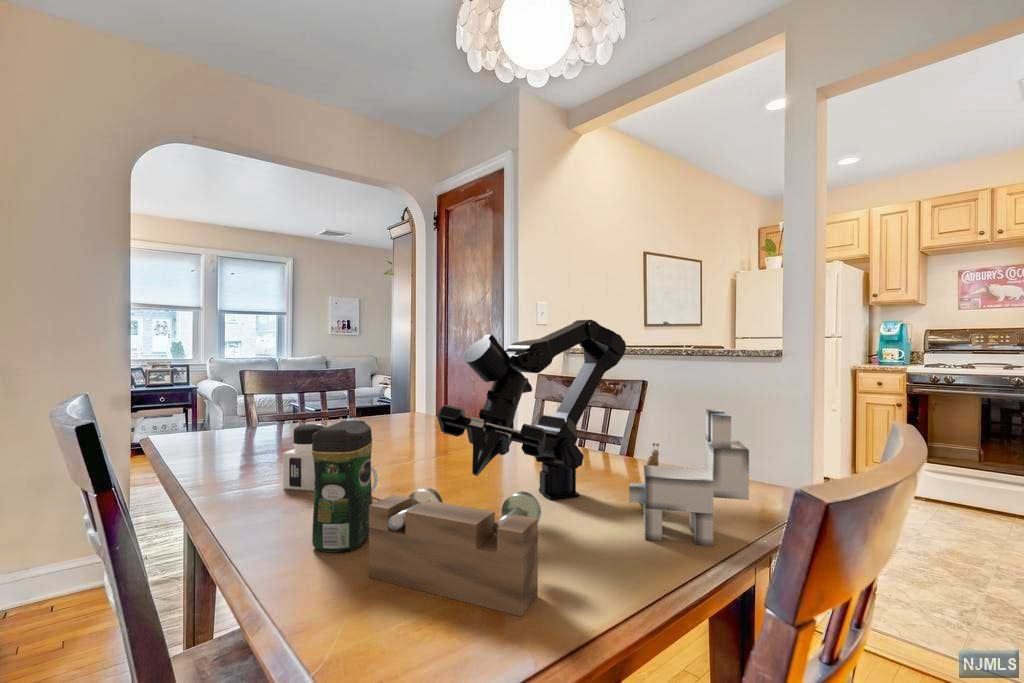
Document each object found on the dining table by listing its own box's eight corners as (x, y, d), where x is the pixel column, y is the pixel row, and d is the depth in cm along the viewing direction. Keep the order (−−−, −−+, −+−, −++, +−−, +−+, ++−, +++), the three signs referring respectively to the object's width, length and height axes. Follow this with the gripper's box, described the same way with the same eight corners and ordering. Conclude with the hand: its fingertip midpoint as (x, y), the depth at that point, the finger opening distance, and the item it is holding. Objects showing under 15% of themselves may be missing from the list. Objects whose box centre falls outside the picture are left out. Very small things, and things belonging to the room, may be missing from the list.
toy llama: (628, 521, 85) (629, 406, 85) (737, 531, 81) (738, 410, 81) (629, 538, 78) (629, 412, 78) (748, 549, 74) (749, 416, 74)
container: (315, 491, 102) (315, 428, 102) (282, 489, 103) (282, 427, 103) (335, 481, 109) (336, 422, 109) (304, 479, 111) (305, 421, 111)
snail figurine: (670, 508, 92) (670, 444, 92) (665, 519, 86) (666, 451, 86) (641, 503, 95) (641, 441, 95) (634, 514, 89) (634, 448, 89)
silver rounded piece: (413, 520, 71) (414, 485, 71) (443, 525, 68) (443, 489, 68) (378, 539, 64) (378, 501, 64) (409, 546, 61) (410, 506, 61)
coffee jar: (332, 528, 82) (332, 417, 82) (378, 530, 81) (379, 417, 81) (302, 553, 72) (302, 427, 72) (354, 555, 71) (355, 428, 71)
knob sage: (507, 524, 69) (507, 489, 69) (540, 530, 67) (541, 494, 67) (481, 545, 62) (481, 505, 62) (517, 552, 60) (518, 511, 60)
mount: (393, 561, 69) (393, 494, 69) (537, 595, 60) (537, 518, 60) (368, 577, 65) (369, 505, 65) (521, 616, 56) (521, 532, 56)
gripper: (552, 433, 93) (530, 510, 83) (461, 410, 97) (429, 481, 88) (554, 399, 85) (530, 480, 75) (454, 376, 89) (418, 450, 79)
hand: (474, 474), depth 79 cm, fingers closed
